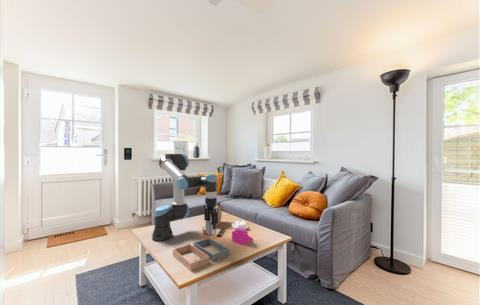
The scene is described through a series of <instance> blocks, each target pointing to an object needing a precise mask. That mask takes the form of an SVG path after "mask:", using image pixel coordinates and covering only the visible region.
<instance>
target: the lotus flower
mask: <svg viewBox="0 0 480 305" xmlns="http://www.w3.org/2000/svg"><path fill="white" fill-rule="evenodd" d="M231 226H232V228H234V230H236V229H237V230H238V229H244V230H247V229H249V227H248V226H247V222H246V221H245V220H241V221H240V219H237V220H234V223H231Z"/></svg>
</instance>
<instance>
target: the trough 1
mask: <svg viewBox="0 0 480 305" xmlns="http://www.w3.org/2000/svg"><path fill="white" fill-rule="evenodd" d="M188 251H190V252H192V253H193V254H195V255H196V256H197V258H200V259H198V260H195V261H192V262H191V261H189V259H187V258H185V257H184V256H183V253H185V252H188ZM172 257H173V258H175V259H176V260H177V261H178V262H180V263H181V264H182V265H183V266H184V267H186V268H187V270H189V271H191V272H192V271H194V270H196V269H199V268H201V267H205V266H206V265H209V264H210V259H209V256H208V255H206V254H205V253H203V252H202V251H200V250H199V249H197V248H196V247H194V244H193V245H192V244H191V243H188V244H185V245H183V246H178V247H175V248H173V249H172Z"/></svg>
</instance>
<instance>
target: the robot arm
mask: <svg viewBox="0 0 480 305" xmlns="http://www.w3.org/2000/svg"><path fill="white" fill-rule="evenodd" d="M189 161H190V160H189V157H188V156H187V154H185V153H165V154H163V155H162V156H161V157H160V158H159V161H158V164H159V167H160V169H161V170H162V171H164V172H166V173H167V174H168V175H169V176H170V177H171V178H172V180H173V181H172V182H173V184H172V185H173V190H172V191H173V194H172V195H173V201H172V202H171V205H169V204H165V205H160V206H158V207H156V208H155V209H154V218H153V219H154V227H153V232H152V234H151V239H152V240H153V241H166V240H168V239H171V238H172V237H173V236H174V234H173V230H172V226H171V222H174V221H175V222H177V221H181V220H183V219H187V218H188V216H189V213H190V207H189V204H187V202H186V201H185V190H189V189H196V188H204V192H205V194H204V196H205V199H204V200H205V201H204V203H205V205H203V209H204V215H203V219H204V221H205V222H206V221H207V220H210V216H211V219H212V224H211V234H212V235H215V234H216V233H215V229H216V230H217V226H216V224H218V208H216V206H215V204H218V203H217V202H218V201H217V200H218V198H217V196H218V194H217V193H218V192H217V191H218V190H217V188H218V187H217V186H218V184H217V183H218V179H217V177H218V176H217V174H216V173H215V174H214V173H207V174H205V175H196V176H188V175H187V174H185V172H186V171H187V168H188V167H189V165H190V164H189V163H190V162H189ZM218 225H219V224H218Z"/></svg>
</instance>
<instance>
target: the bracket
mask: <svg viewBox="0 0 480 305" xmlns="http://www.w3.org/2000/svg"><path fill="white" fill-rule="evenodd" d="M251 240H253V236H249V232H248V231H247V229H245V230H244V229H238V230H237V229H233V230H231V242H233V243H236V244H238V245H242V246H244V245H246V244H248V243H249V242H250V241H251Z"/></svg>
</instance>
